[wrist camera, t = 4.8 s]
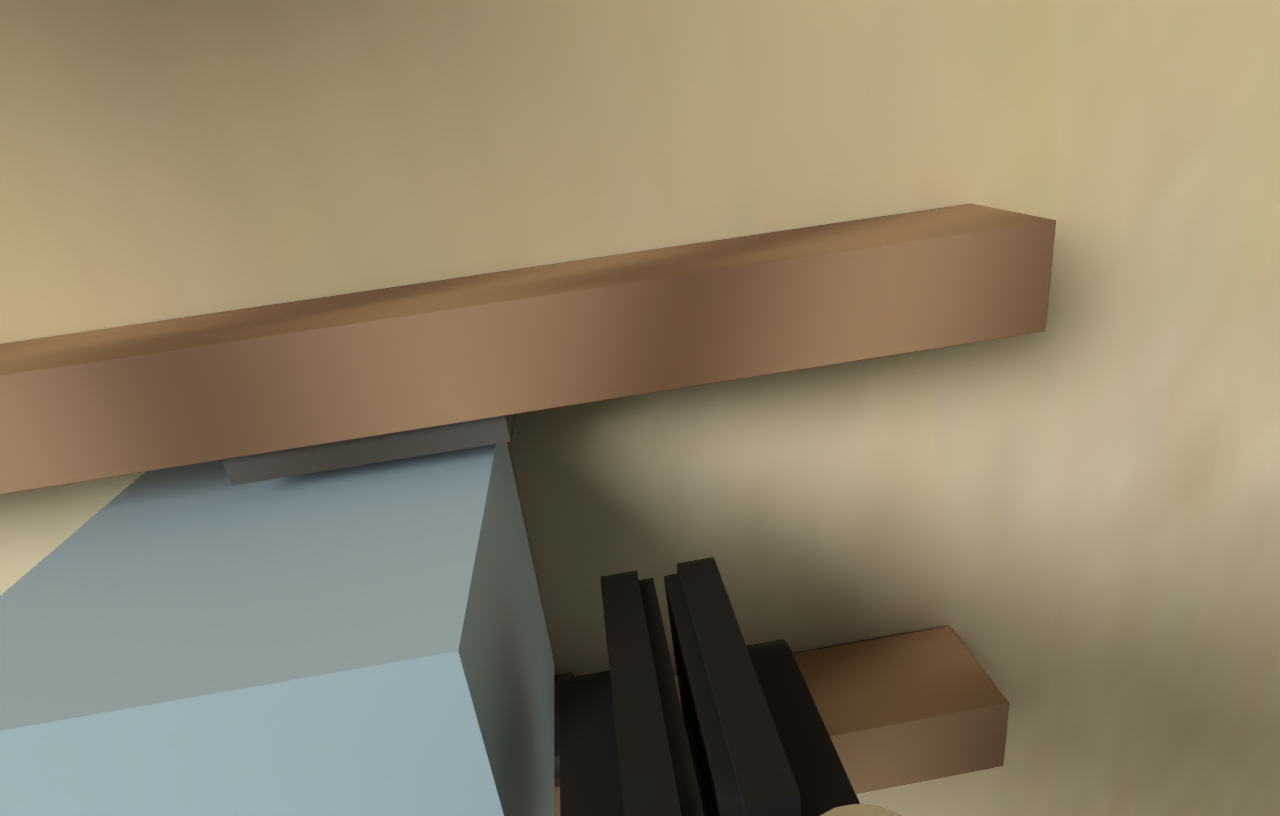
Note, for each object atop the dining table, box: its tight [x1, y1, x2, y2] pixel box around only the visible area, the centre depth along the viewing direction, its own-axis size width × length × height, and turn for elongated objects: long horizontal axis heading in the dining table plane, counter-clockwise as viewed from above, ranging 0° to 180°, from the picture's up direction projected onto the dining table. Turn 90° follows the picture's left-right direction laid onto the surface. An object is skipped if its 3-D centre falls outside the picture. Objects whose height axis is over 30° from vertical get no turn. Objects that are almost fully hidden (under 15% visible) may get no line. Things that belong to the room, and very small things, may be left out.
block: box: [0, 442, 554, 816], centre depth 11 cm, size 6×6×6 cm
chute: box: [0, 204, 1056, 816], centre depth 12 cm, size 23×10×2 cm, turn 97°
